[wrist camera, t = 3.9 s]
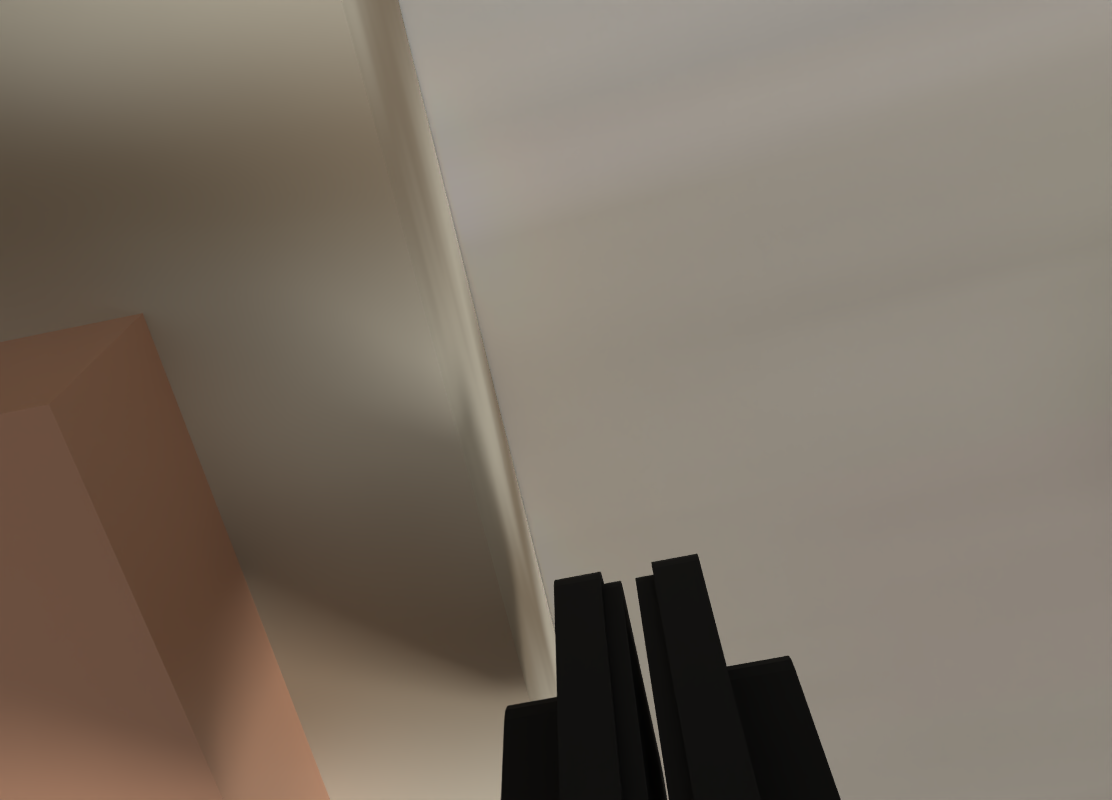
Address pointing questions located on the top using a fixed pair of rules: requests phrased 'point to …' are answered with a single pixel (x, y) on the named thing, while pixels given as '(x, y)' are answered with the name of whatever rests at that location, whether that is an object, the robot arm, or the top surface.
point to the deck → (294, 348)
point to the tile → (125, 593)
